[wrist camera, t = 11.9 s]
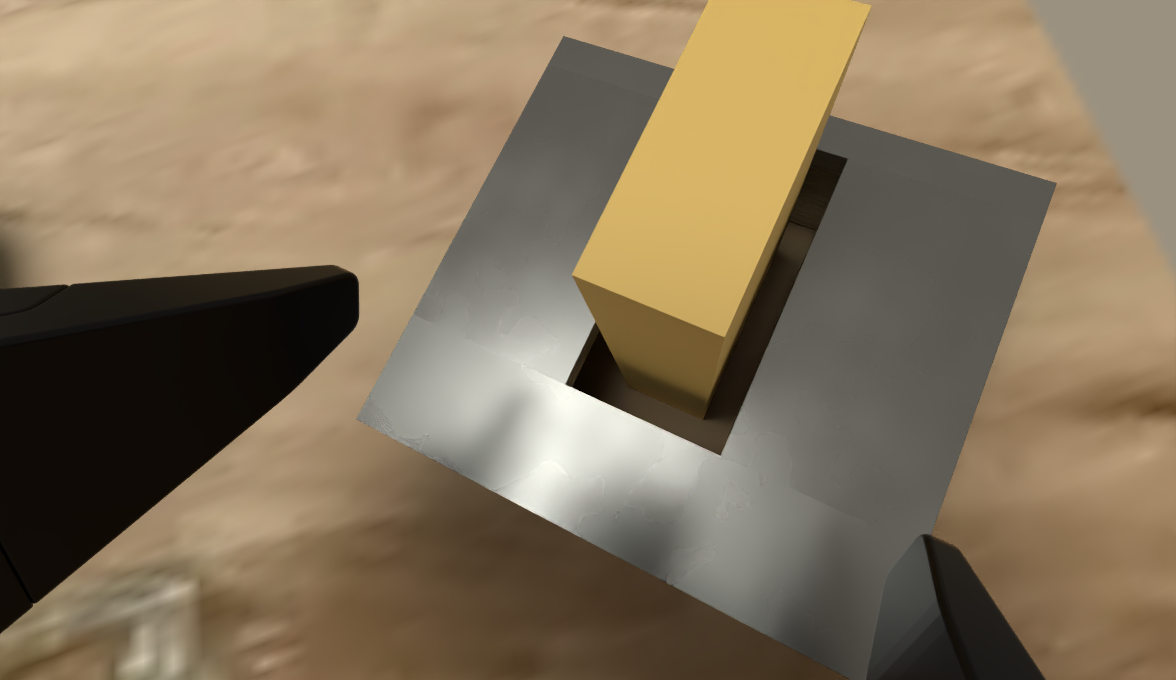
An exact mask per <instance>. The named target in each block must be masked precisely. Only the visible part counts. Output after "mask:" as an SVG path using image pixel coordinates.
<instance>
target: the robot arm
mask: <svg viewBox="0 0 1176 680" xmlns="http://www.w3.org/2000/svg"><path fill="white" fill-rule="evenodd" d="M358 320H359V282H358V279H357V277H356V275H355V274H353V273H352V272H350V271H347V270H345V269H343V268H341V267H339V266H335V265H323V266H309V267H296V268H282V269H269V270H255V271H242V272H228V273H214V274H201V275H187V276H174V277H160V278H147V279H133V280H120V281H106V282H92V283H79V284H72V285H70V286H68V285H50V286H37V287H22V288H6V289H0V634H1V633H2V632H3V631H4V630H5V629H7V628H8V627H9V626H10V625H11V624H13V623H14V622H15V621H16V620H18V619H19V618H20V617H21V616H22V615H24V614H25V613H26V612H27V611H28V610H30V609H31V608H32V607H33V604H35V603H37V602H39V601H40V600H41V599H42V598H43V597H45V596H46V595H47V594H48V593H50V592H51V591H52V590H53V589H54V588H56V587H57V586H58V585H59V584H60V583H62V582H63V581H64V580H65V579H66V578H68V577H69V576H70V575H71V574H72V573H74V572H75V571H76V570H77V569H79V568H80V567H81V566H82V565H83V564H85V563H86V562H87V561H88V560H89V559H91V558H92V557H93V556H94V555H95V554H97V553H98V552H99V551H100V550H102V549H103V548H104V547H105V546H106V545H108V544H109V543H110V542H111V541H112V540H114V539H115V538H116V537H117V536H118V535H120V534H121V533H122V532H123V531H125V530H126V529H127V528H128V527H129V526H131V525H132V524H133V523H134V522H135V521H137V520H138V519H139V518H140V517H141V516H143V515H144V514H145V513H146V512H147V511H149V510H150V509H151V508H152V507H154V506H155V505H156V504H157V503H158V502H160V501H161V500H162V499H163V498H164V497H166V496H167V495H168V494H169V493H170V492H172V491H173V490H174V489H175V488H177V487H178V486H179V485H180V484H181V483H183V482H184V481H185V480H186V479H187V478H189V477H190V476H191V475H192V474H193V473H195V472H196V471H197V470H198V469H200V468H201V467H202V466H203V465H204V464H206V463H207V462H208V461H209V460H210V459H212V458H213V457H214V456H215V455H216V454H218V453H219V452H220V451H221V450H222V449H224V448H225V447H226V446H227V445H229V444H230V443H231V442H232V441H233V440H235V439H236V438H237V437H238V436H239V435H241V434H242V433H243V432H244V431H245V430H247V429H248V428H249V427H250V426H252V425H253V424H254V423H255V422H256V421H258V420H259V419H260V418H261V417H262V416H264V415H265V414H266V413H267V412H268V411H270V410H271V409H272V408H273V407H274V406H276V405H277V404H278V403H279V402H281V401H282V400H283V399H284V398H285V397H286V396H287V395H289V394H290V393H291V392H292V391H293V390H294V389H295V388H296V387H297V386H298V385H299V384H300V383H301V382H302V381H304V379H305V378H306V377H307V376H308V375H309V374H310V373H311V372H312V371H313V370H314V369H315V368H316V367H317V366H318V365H319V364H320V363H321V362H322V361H323V360H324V359H325V358H326V357H327V356H328V355H329V354H330V353H331V352H332V351H333V350H334V349H335V348H336V347H337V346H338V345H339V344H340V343H341V342H342V341H343V340H344V339H345V338H346V337H347V336H348V335H349V334H350V333H351V332H352V331H353V330H354V328H355V327H356V325H357V323H358ZM866 680H1046V679H1045V678H1044V676H1043V675H1042V673H1041V672H1040V670H1039V669H1038V667H1037V666H1036V664H1035V663H1034V661H1033V660H1032V658H1031V657H1030V655H1029V654H1028V652H1027V651H1026V649H1025V648H1024V646H1023V644H1022V643H1021V641H1020V640H1019V638H1018V637H1017V635H1016V634H1015V632H1014V631H1013V629H1012V628H1011V626H1010V625H1009V623H1008V622H1007V620H1006V619H1005V617H1004V616H1003V614H1002V613H1001V611H1000V610H999V608H998V607H997V605H996V604H995V602H994V601H993V599H992V598H991V596H990V595H989V593H988V592H987V590H986V589H985V587H984V586H983V584H982V583H981V581H980V580H979V578H978V577H977V575H976V574H975V572H974V571H973V569H972V568H971V566H970V565H969V563H968V562H967V560H966V559H965V557H964V556H963V554H962V553H961V551H960V550H959V549H958V548H957V547H955V546H954V545H952V544H949V543H947V542H945V541H943V540H941V539H938V538H936V537H934V536H932V535H930V534H922V535H920V536H918V537H917V538H916V539H915V540H914V541H913V543H912V544H911V545H910V546H909V547H908V549H907V550H906V551H905V552H904V554H903V555H902V556H901V557H900V559H899V560H898V561H897V562H896V564H895V565H894V566H893V567H892V569H891V570H890V571H889V573H888V575H887V577H886V580H885V583H884V586H883V591H882V597H881V602H880V607H879V613H878V618H877V623H876V628H875V634H874V639H873V644H872V650H871V655H870V660H869V666H868V671H867V676H866Z"/></svg>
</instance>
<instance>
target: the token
mask: <svg viewBox="0 0 1176 680" xmlns="http://www.w3.org/2000/svg"><path fill="white" fill-rule="evenodd" d="M870 9H871V5H867V4H863V3H859V2H855V1H851V0H709V1H708V3H707V5H706V7H705V9H704V11H703V13H702V15H701V17H700V19H699V21H698V23H697V25H696V27H695V29H694V31H693V33H692V35H691V37H690V39H689V41H688V43H687V45H686V47H685V49H684V51H683V53H682V55H681V57H680V59H679V61H678V63H677V65H676V67H675V69H674V71H673V73H672V75H671V77H670V79H669V81H668V83H667V85H666V87H665V89H664V91H663V93H662V95H661V97H660V99H659V101H658V103H657V105H656V107H655V109H654V111H653V113H652V115H651V117H650V119H649V121H648V123H647V125H646V127H645V129H644V131H643V133H642V135H641V137H640V139H639V141H638V143H637V145H636V147H635V149H634V151H633V153H632V155H631V157H630V159H629V161H628V163H627V165H626V167H625V169H624V171H623V173H622V175H621V177H620V179H619V181H618V183H617V185H616V187H615V189H614V191H613V193H612V195H611V197H610V199H609V201H608V203H607V205H606V207H605V209H604V211H603V213H602V215H601V217H600V219H599V221H598V223H597V225H596V227H595V229H594V231H593V233H592V235H591V237H590V239H589V241H588V243H587V245H586V247H585V249H584V251H583V253H582V255H581V257H580V259H579V261H578V263H577V265H576V267H575V269H574V271H573V273H572V276H573V278H574V280H575V282H576V284H577V286H578V288H579V290H580V292H581V294H582V296H583V298H584V300H585V302H586V304H587V306H588V308H589V310H590V312H591V314H592V316H593V318H594V320H595V322H596V324H597V326H598V327H599V329H600V331H601V333H602V335H603V337H604V339H605V341H606V343H607V345H608V347H609V349H610V351H611V353H612V355H613V357H614V359H615V361H616V363H617V365H618V367H619V369H620V371H621V373H622V375H623V377H624V379H625V380H626V382H627V384H628V386H629V387H631V388H633V389H635V390H637V391H640V392H642V393H644V394H646V395H649V396H651V397H653V398H655V399H658V400H660V401H662V402H664V403H666V404H669V405H671V406H673V407H675V408H678V409H680V410H682V411H684V412H686V413H689V414H691V415H693V416H695V417H698V418H700V419H702V420H703V418H704V416H705V414H706V411H707V409H708V407H709V405H710V402H711V400H712V398H713V395H714V393H715V391H716V389H717V386H718V384H719V382H720V380H721V377H722V375H723V373H724V370H725V368H726V366H727V364H728V361H729V359H730V357H731V355H732V352H733V350H734V348H735V345H736V343H737V341H738V339H739V336H740V334H741V332H742V329H743V327H744V325H745V323H746V320H747V318H748V316H749V314H750V311H751V309H752V307H753V304H754V302H755V300H756V298H757V295H758V293H759V291H760V288H761V286H762V284H763V282H764V279H765V277H766V275H767V273H768V270H769V268H770V266H771V263H772V261H773V259H774V257H775V254H776V252H777V250H778V247H779V245H780V242H781V239H782V237H783V234H784V232H785V229H786V226H787V224H788V221H789V219H790V216H791V214H792V211H793V208H794V206H795V203H796V201H797V198H798V195H799V193H800V190H801V188H802V185H803V182H804V180H805V177H806V175H807V172H808V170H809V167H810V164H811V162H812V159H813V157H814V154H815V151H816V149H817V146H818V144H819V141H820V138H821V136H822V133H823V131H824V128H825V126H826V123H827V120H828V118H829V115H830V113H831V110H832V107H833V105H834V102H835V100H836V97H837V94H838V92H839V89H840V87H841V84H842V82H843V79H844V76H845V74H846V71H847V69H848V66H849V63H850V61H851V58H852V56H853V53H854V50H855V48H856V45H857V43H858V40H859V38H860V35H861V32H862V30H863V27H864V25H865V22H866V19H867V17H868V14H869V12H870Z"/></svg>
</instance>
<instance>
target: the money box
mask: <svg viewBox="0 0 1176 680" xmlns="http://www.w3.org/2000/svg"><path fill="white" fill-rule="evenodd" d="M673 71H674V69H672V68H669V67H665V66H662V65H659V64H655V63H652V62H649V61H645V60H642V59H639V58H635V57H632V56H629V55H625V54H622V53H619V52H615V51H612V50H608V49H605V48H602V47H598V46H595V45H592V44H588V43H585V42H582V41H578V40H575V39H572V38H568V37H565V36H563V38H562V40H561V42H560V44H559V46H558V47H557V49H556V51H555V53H554V55H553V57H552V58H551V60H550V62H549V64H548V66H547V68H546V70H545V71H544V73H543V75H542V77H541V79H540V81H539V82H538V84H537V86H536V88H535V90H534V92H533V94H532V95H531V97H530V99H529V101H528V103H527V105H526V106H525V108H524V110H523V112H522V114H521V116H520V118H519V119H518V121H517V123H516V125H515V127H514V129H513V130H512V132H511V134H510V136H509V138H508V140H507V142H506V143H505V145H504V147H503V149H502V151H501V153H500V155H499V156H498V158H497V160H496V162H495V164H494V166H493V167H492V169H491V171H490V173H489V175H488V177H487V179H486V180H485V182H484V184H483V186H482V188H481V190H480V191H479V193H478V195H477V197H476V199H475V201H474V203H473V204H472V206H471V208H470V210H469V212H468V214H467V215H466V217H465V219H464V221H463V223H462V225H461V227H460V228H459V230H458V232H457V234H456V236H455V238H454V239H453V241H452V243H451V245H450V247H449V249H448V251H447V252H446V254H445V256H444V258H443V260H442V262H441V264H440V265H439V267H438V269H437V271H436V273H435V275H434V276H433V278H432V280H431V282H430V284H429V286H428V288H427V289H426V291H425V293H424V295H423V297H422V299H421V300H420V302H419V304H418V306H417V308H416V310H415V312H414V313H413V315H412V317H411V319H410V321H409V323H408V324H407V326H406V328H405V330H404V332H403V334H402V336H401V337H400V339H399V341H398V343H397V345H396V347H395V348H394V350H393V352H392V354H391V356H390V358H389V360H388V361H387V363H386V365H385V367H384V369H383V371H382V373H381V374H380V376H379V378H378V380H377V382H376V384H375V385H374V387H373V389H372V391H371V393H370V395H369V397H368V398H367V400H366V402H365V404H364V406H363V408H362V409H361V411H360V413H359V415H358V417H357V420H359V421H360V422H362V423H364V424H366V425H368V426H370V427H372V428H374V429H376V430H378V431H379V432H381V433H383V434H385V435H387V436H389V437H391V438H393V439H395V440H396V441H398V442H400V443H402V444H404V445H406V446H408V447H410V448H412V449H414V450H415V451H417V452H419V453H421V454H423V455H425V456H427V457H429V458H431V459H433V460H434V461H436V462H438V463H440V464H442V465H444V466H446V467H448V468H450V469H452V470H453V471H455V472H457V473H459V474H461V475H463V476H465V477H467V478H469V479H471V480H472V481H474V482H476V483H478V484H480V485H482V486H484V487H486V488H488V489H490V490H491V491H493V492H495V493H497V494H499V495H501V496H503V497H505V498H507V499H509V500H510V501H512V502H514V503H516V504H518V505H520V506H522V507H524V508H526V509H527V510H529V511H531V512H533V513H535V514H537V515H539V516H541V517H543V518H545V519H546V520H548V521H550V522H552V523H554V524H556V525H558V526H560V527H562V528H564V529H565V530H567V531H569V532H571V533H573V534H575V535H577V536H579V537H581V538H583V539H584V540H586V541H588V542H590V543H592V544H594V545H596V546H598V547H600V548H602V549H603V550H605V551H607V552H609V553H611V554H613V555H615V556H617V557H619V558H621V559H622V560H624V561H626V562H628V563H630V564H632V565H634V566H636V567H638V568H640V569H641V570H643V571H645V572H647V573H649V574H651V575H653V576H655V577H657V578H659V579H660V580H662V581H664V582H666V583H668V584H670V585H672V586H674V587H676V588H677V589H679V590H681V591H683V592H685V593H687V594H689V595H691V596H693V597H695V598H696V599H698V600H700V601H702V602H704V603H706V604H708V605H710V606H712V607H714V608H715V609H717V610H719V611H721V612H723V613H725V614H727V615H729V616H731V617H733V618H734V619H736V620H738V621H740V622H742V623H744V624H746V625H748V626H750V627H752V628H753V629H755V630H757V631H759V632H761V633H763V634H765V635H767V636H769V637H771V638H772V639H774V640H776V641H778V642H780V643H782V644H784V645H786V646H788V647H790V648H791V649H793V650H795V651H797V652H799V653H801V654H803V655H805V656H807V657H808V658H810V659H812V660H814V661H816V662H818V663H820V664H822V665H824V666H826V667H827V668H829V669H831V670H833V671H835V672H837V673H839V674H841V675H843V676H845V677H846V678H848V679H850V680H866V676H867V671H868V666H869V660H870V655H871V650H872V644H873V639H874V634H875V628H876V623H877V618H878V613H879V607H880V602H881V597H882V591H883V586H884V583H885V580H886V577H887V575H888V573H889V571H890V570H891V569H892V567H893V566H894V565H895V564H896V562H897V561H898V560H899V559H900V557H901V556H902V555H903V554H904V552H905V551H906V550H907V549H908V547H909V546H910V545H911V544H912V543H913V541H914V540H915V539H916V538H917V537H918V536H920V535H922V534H930V535H931V533H932V530H933V528H934V525H935V522H936V519H937V516H938V514H939V511H940V508H941V505H942V502H943V500H944V497H945V494H946V491H947V488H948V486H949V483H950V480H951V477H952V474H953V472H954V469H955V466H956V463H957V461H958V458H959V455H960V452H961V449H962V447H963V444H964V441H965V438H966V435H967V433H968V430H969V427H970V424H971V421H972V419H973V416H974V413H975V410H976V407H977V405H978V402H979V399H980V396H981V393H982V391H983V388H984V385H985V382H986V380H987V377H988V374H989V371H990V368H991V366H992V363H993V360H994V357H995V354H996V352H997V349H998V346H999V343H1000V340H1001V338H1002V335H1003V332H1004V329H1005V326H1006V324H1007V321H1008V318H1009V315H1010V312H1011V310H1012V307H1013V304H1014V301H1015V299H1016V296H1017V293H1018V290H1019V287H1020V285H1021V282H1022V279H1023V276H1024V273H1025V271H1026V268H1027V265H1028V262H1029V259H1030V257H1031V254H1032V251H1033V248H1034V245H1035V243H1036V240H1037V237H1038V234H1039V232H1040V229H1041V226H1042V223H1043V220H1044V218H1045V215H1046V212H1047V209H1048V206H1049V204H1050V201H1051V198H1052V195H1053V192H1054V190H1055V187H1056V184H1057V183H1054V182H1051V181H1048V180H1044V179H1041V178H1038V177H1034V176H1031V175H1028V174H1024V173H1021V172H1018V171H1014V170H1011V169H1008V168H1004V167H1001V166H997V165H994V164H991V163H987V162H984V161H981V160H977V159H974V158H971V157H967V156H964V155H961V154H957V153H954V152H951V151H947V150H944V149H940V148H937V147H934V146H930V145H927V144H924V143H920V142H917V141H914V140H910V139H907V138H904V137H900V136H897V135H894V134H890V133H887V132H883V131H880V130H877V129H873V128H870V127H867V126H863V125H860V124H857V123H853V122H850V121H847V120H843V119H840V118H837V117H833V116H830V115H829V118H828V120H827V123H826V126H825V128H824V131H823V133H822V136H821V138H820V141H819V144H818V146H817V149H816V151H815V154H814V157H813V159H812V162H811V164H810V167H809V170H808V172H807V175H806V177H805V180H804V182H803V185H802V188H801V190H800V193H799V195H798V198H797V201H796V203H795V206H794V208H793V211H792V214H791V216H790V219H789V221H791V222H794V223H797V224H800V225H802V226H805V227H808V228H811V229H814V230H816V232H815V235H814V237H813V239H812V242H811V244H810V246H809V249H808V251H807V253H806V256H805V258H804V260H803V263H802V265H801V267H800V270H799V272H798V274H797V277H796V279H795V281H794V284H793V286H792V288H791V291H790V293H789V295H788V298H787V300H786V302H785V305H784V307H783V309H782V312H781V314H780V316H779V319H778V321H777V323H776V326H775V328H774V330H773V333H772V335H771V337H770V340H769V342H768V344H767V347H766V349H765V351H764V354H763V356H762V358H761V361H760V363H759V365H758V368H757V370H756V372H755V375H754V377H753V379H752V382H751V384H750V386H749V389H748V391H747V393H746V396H745V398H744V400H743V403H742V405H741V407H740V410H739V412H738V414H737V417H736V419H735V421H734V424H733V426H732V428H731V431H730V433H729V435H728V438H727V440H726V442H725V445H724V447H723V449H722V452H721V454H720V455H717V454H715V453H713V452H711V451H709V450H707V449H704V448H702V447H700V446H698V445H696V444H694V443H691V442H689V441H687V440H685V439H683V438H680V437H678V436H676V435H674V434H672V433H670V432H667V431H665V430H663V429H661V428H659V427H657V426H654V425H652V424H650V423H648V422H646V421H643V420H641V419H639V418H637V417H635V416H633V415H630V414H628V413H626V412H624V411H622V410H620V409H617V408H615V407H613V406H611V405H609V404H606V403H604V402H602V401H600V400H598V399H596V398H593V397H591V396H589V395H587V394H585V393H583V392H580V391H578V390H576V389H574V388H572V387H573V384H574V382H575V380H576V378H577V376H578V374H579V372H580V370H581V368H582V366H583V364H584V362H585V360H586V357H587V355H588V353H589V351H590V349H591V347H592V345H593V343H594V341H595V339H596V337H597V335H598V333H599V330H600V329H599V327H598V326H597V324H596V322H595V320H594V318H593V316H592V314H591V312H590V310H589V308H588V306H587V304H586V302H585V300H584V298H583V296H582V294H581V292H580V290H579V288H578V286H577V284H576V282H575V280H574V278H573V276H572V273H573V271H574V269H575V267H576V265H577V263H578V261H579V259H580V257H581V255H582V253H583V251H584V249H585V247H586V245H587V243H588V241H589V239H590V237H591V235H592V233H593V231H594V229H595V227H596V225H597V223H598V221H599V219H600V217H601V215H602V213H603V211H604V209H605V207H606V205H607V203H608V201H609V199H610V197H611V195H612V193H613V191H614V189H615V187H616V185H617V183H618V181H619V179H620V177H621V175H622V173H623V171H624V169H625V167H626V165H627V163H628V161H629V159H630V157H631V155H632V153H633V151H634V149H635V147H636V145H637V143H638V141H639V139H640V137H641V135H642V133H643V131H644V129H645V127H646V125H647V123H648V121H649V119H650V117H651V115H652V113H653V111H654V109H655V107H656V105H657V103H658V101H659V99H660V97H661V95H662V93H663V91H664V89H665V87H666V85H667V83H668V81H669V79H670V77H671V75H672V73H673Z"/></svg>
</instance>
